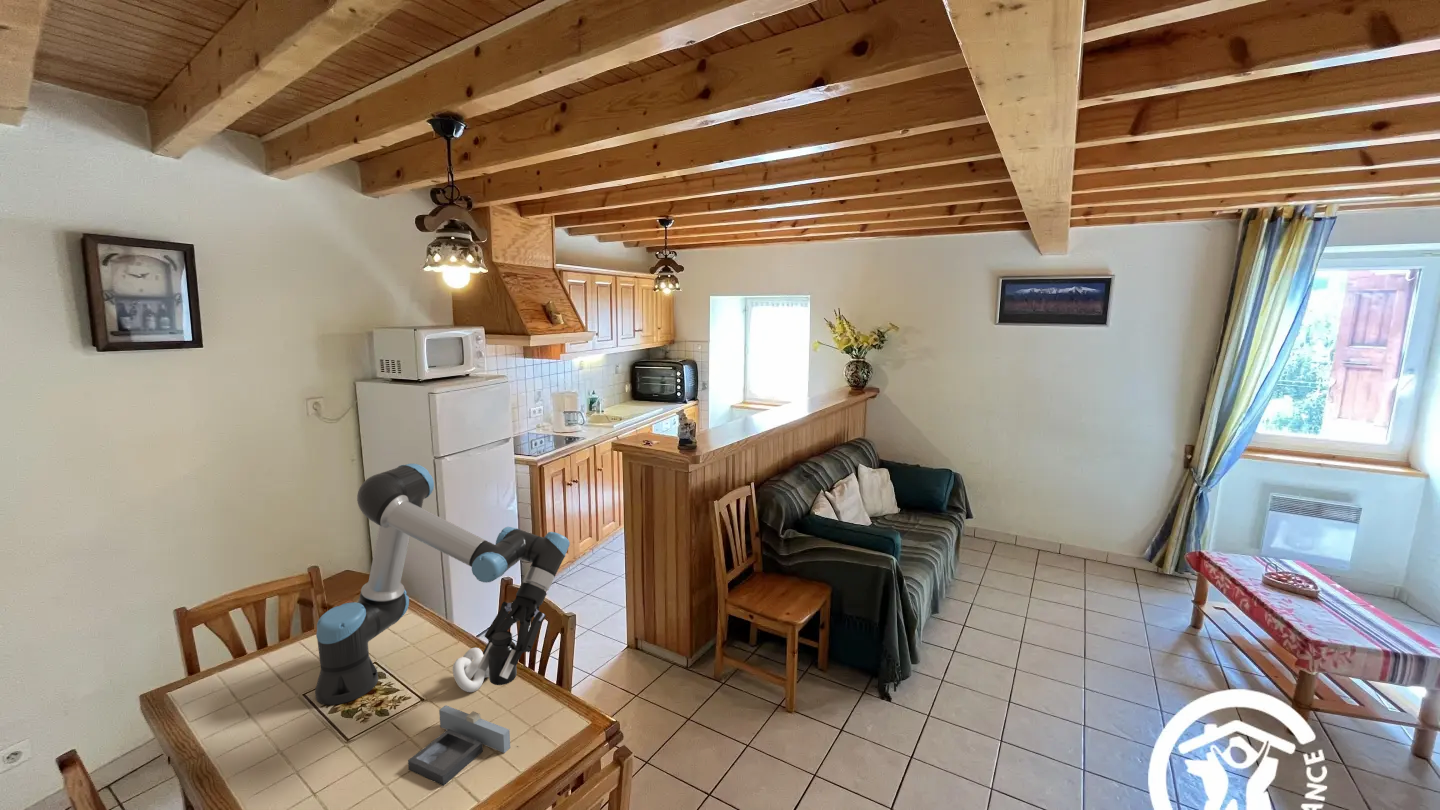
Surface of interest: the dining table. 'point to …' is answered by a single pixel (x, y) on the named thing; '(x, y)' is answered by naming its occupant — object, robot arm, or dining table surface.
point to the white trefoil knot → (470, 670)
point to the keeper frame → (445, 756)
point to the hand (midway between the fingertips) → (492, 673)
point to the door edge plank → (475, 728)
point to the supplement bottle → (500, 657)
